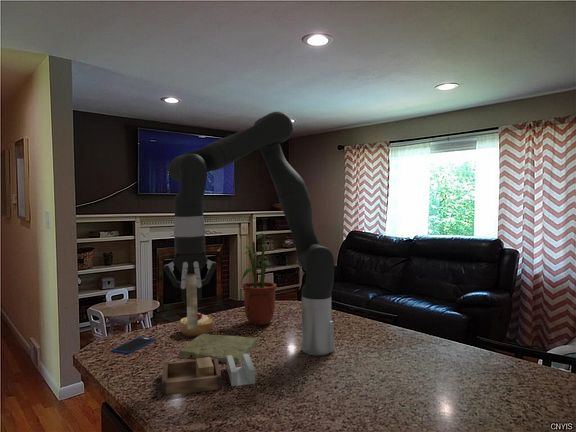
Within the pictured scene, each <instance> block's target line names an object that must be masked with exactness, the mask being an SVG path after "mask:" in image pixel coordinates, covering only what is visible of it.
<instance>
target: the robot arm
mask: <svg viewBox="0 0 576 432" xmlns="http://www.w3.org/2000/svg"><path fill="white" fill-rule="evenodd" d="M293 131H294V126H293V121H292V119H291V117H290V116H289V115H288V114H287V113H285V112H283V111H273V112H270V113H268V114H265V115H264V116H262V117H260V118H258V119H257V120H256V121H255V122H254V123H253V126H251V127H248V128H246V129H244V130H240V131H238V132H236V133H233V134H230V135H227V136H225V137H223V138H220V139H217V140H215V141H212V142H211V143H208V144H207V145H205V146H203V147H201V148H198V149H195V150H191V151H189V152H186V153H183V154H180V155H178V156H176V157H174V158H173V159H172V160H171V161H170V162H169V166H168V174H169V177H170V178H171V179H172V180H173V181H174V182H175V183H179V184H180V190H179V192H178V193H177V194H176V195H175V196H174V202H173V203H174V204H173V206H174V223H173V236H174V237H173V238H174V240H173V241H174V258H173V259H172V261H171V262H169V263H168V264H165V265H163V270H164V272H165V274H166V276H167V277H168V279H169V280H170V282H171V284H172V286H173V287H174V288H179V289H180V295H181V296H180V299H181V301H182V302H184V304H187V291H186V274H194V273H195V274H196V283H197V303H200V301H201V300H202V299H203V286H206V285H209V283H210V281H211V279H212V277H213V275H214V273H215V271H216V270H217V269H216V268H217V267H218V264H217V262H216V261H212V260H210V259H208V256H207V255H206V227H205V226H206V225H205V219H204V202H203V199H204V195H205V191H206V186H207V179H208V173H210V172H213V171H214V172H215V171H218V170H221V169H223V168H225V167H227V166H229V165H231V164H233V163H234V162H236V161H239V160H240V159H242V158H244V157H245V156H247V155H249V154H251V153H253V152H254V151H257V150H259V151H260V153H261V155H262V156H261V157H262V158H263V160H264V162H265V164H266V166H267V169H268V172H269V175H270V177H271V180H272V182H273V183H272V184H273V185H274V188H275V192H276V195H277V197H278V198H277V199H278V201H279V203H280V204H279V205H280V206H281V209H282V212H283V214H284V217H285V220H286V223H287V225H288V228H289V230H290V233H291V235H292V238H293V242H294V246H295V247H294V248H295V251H296V255H297V260H298V262H299V263H298V264H299V265H300V267H301V269H302V270H304V271H305V284H304V285H303V286H301V287H302V288H301V352H303V353H304V354H306V355H309V356H325V355H326V356H327V355H328V354H330V353H334V352H335V351H334V343H335V342H334V338H335V337H334V327H335V326H334V321H333V320H332V290H333V289H334V283H335V257H334V254H333V252H332V251H331V249H329V247H325V246H324V245H320V242H319V239H318V237H317V236H316V232H315V228H314V225H313V209H312V208H313V207H312V201H311V197H310V194H309V191H308V188H307V186H306V183H305V181H304V178H302V176H301V175H300V174H299V173H298V172H297V171H296V170H295V169H294V167H292V165H291V164H290V163H289V162H288V161H287V159H286V157H285V155H284V152H283V149H282V146H281V144H282V143H284V142H286V141H288V140H289V139H290V137H291V136H292V134H293ZM174 266H175V268H176V269H177V270H178V271H179V272H180V273H181V279H180V280H181V281H179V280H178V278H177V277H176V275H175V274H174V270H175V268H174ZM204 267H206V268H207V269H208V270H207V272H206V274H205V277H204V279H202V277H201V272H202V270H203V269H204Z"/></svg>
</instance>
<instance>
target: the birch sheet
mask: <svg viewBox="0 0 576 432" xmlns="http://www.w3.org/2000/svg"><path fill="white" fill-rule="evenodd" d="M186 291H187V303H186V317H187V324H188V330H189V329H198V317H197V312H198V302H197V283H196V274H195V273H194V274H186Z"/></svg>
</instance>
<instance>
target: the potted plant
mask: <svg viewBox="0 0 576 432" xmlns="http://www.w3.org/2000/svg"><path fill="white" fill-rule="evenodd" d="M261 237H262V239H261V240H262V241H261V257H260V258H261V259H260V260H261V261H260V272H259V270H257V256H258V254H257V252H256V242H255V241H253V242H252V244H251V245H252V246H248V245H247V246H244V248H245V249H247V250H248V251H245V252H244V255H247V254H248V258H249V261H250V265H251V267H249V268H247V269H245V270H244V272H243V275H242V278H241V281H240V282H241V283H242V282H243V280H244V278H245V277H246V276H248V274H249V273H250V272H252V278H253V281H251V282H246V283H243V284H242V289H243V291H244V293H243V294H244V297H243V298H244V299H243V300H244V312H245V313H244V314H245V318H246V319H247V321H248V322H249V323H250V324H251V325H254V326H266V325H267V324H269V323H270V322H271V321H272V320H273V318H274V315H275V309H276V289H277V283H275V282H271V281H265V277H266V269H267V265H272V269H273V270H274V268H275V264H274V262H273V261H270V260H268V257H269V256H265V248H266V246H267V244H266V233H259V234H258V235H257V236H256V240H259V238H261ZM269 246H271V244H269ZM251 249H252V250H251ZM257 274H258V275H259V274H260V279H259V281H258V277H257V276H258V275H257Z"/></svg>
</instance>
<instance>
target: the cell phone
mask: <svg viewBox="0 0 576 432" xmlns="http://www.w3.org/2000/svg"><path fill="white" fill-rule="evenodd" d="M155 341H157V339H156V338H153V337H152V338H151V337H144V336H138V337H136V338H134V339H131V340H129V341H127V342H125V343H123V344H120V345H119V346H117V347H115V348H112V349H111V350H110V353H115V354H121V355H130V354H131V355H132V354H133V353H134V352H137V351H138V350H141V349H142V348H145V347H146V346H148V345H150V344H152V343H154V342H155Z"/></svg>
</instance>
